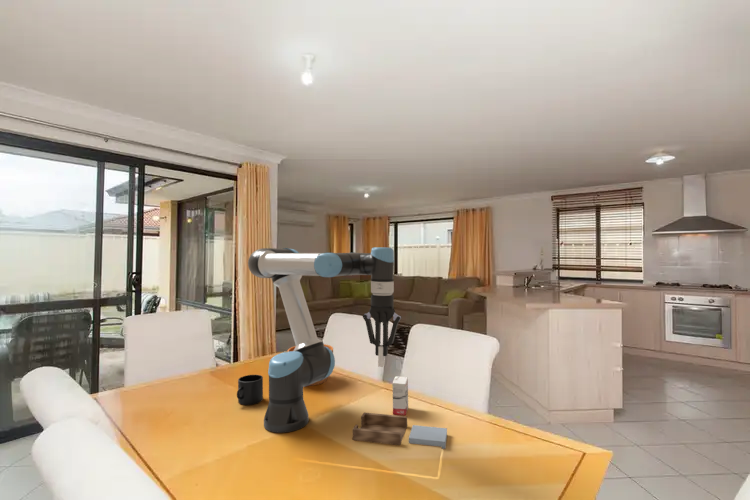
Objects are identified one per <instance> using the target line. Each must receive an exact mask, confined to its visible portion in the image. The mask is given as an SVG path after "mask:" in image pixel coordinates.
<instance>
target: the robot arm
mask: <svg viewBox="0 0 750 500" xmlns="http://www.w3.org/2000/svg"><path fill="white" fill-rule="evenodd" d="M247 260H248V261H247V266H248V270H249V272H250V273H251V274H252V275H253V276H255V277H256V278H261V279H271V280H272V283H273V286H275V287H277V288H278V290H279V293H280V296H281V300H282V303H283V307H284V310H285V314H286V318H287V320H288V321H287V322H288V324H289V327H290V330H291V333H292V337H293V341H294V344H295V346H296V347H295V349H294V351H289V352H286V351H283V352H280V353H278V354H276V355H274V356H273V357H271V358H270V360H269V363H268V370H267V371H268V372H267V373H268V374H267V375H268V405H267V407H266V410H265V415H264V417H263V427H264V429H265V430H266V431H269V432H273V433H279V434H280V433H290V432H295V431H298V430H300V429H303V428H304V427H306V426H307V425H308V423H309V412H308V409H307V406H306V403H305V400H304V388H305V387H308V385H310V384H313V383H315V382H318V381H321V380H323V379H325V378H329V377H330V376H331V375H332V374H333V372H334V369H335V365H336V364H335V363H336V359H335V355H334V351H333V352H332V351H331V350H330V349H329V348H328V347H325V346H324V344H325V343H324V340H322V339H319V338H318V335H317V333H316V329H315V326H314V323H313V320H312V316H311V313H310V310H309V307H308V303H307V300H306V297H305V294H304V290H303V287H302V284H301V279H302V277H303V276H313V277H319V276H320V277H322V278H334V277H342V276H343V277H346V276H370V293H371V295H370V308H369V311H368V312H367V313H364V314H363V315H362V318H363V321H365V325H366V330H367V334H368V340H369V343H370V344H372V345H374V346H375V351H374V352H375V353H374V355H375V356H377V359H378V360H377V365H378V367H379V368H380V367H381V368H383V367H384V366H385V363H386V360H385V357H387V356H388V354H389V353H388V351H389V350H388V349H389V346H392V344H393V343H394V341H395V337H396V333H397V329H398V325H399V322H400V321H401V320H402V316H401V315H398V313H396V311H395V309H394V302H395V301H394V300H395V299H394V298H395V297H394V291H395V287H394V286H395V285H394V283H395V282H394V280H395V279H394V273H395V272H394V271H395V251H394V249H393V248H392V247H383V246H382V247H381V246H380V247H376V246H375V247H371V252H367V253H366V252H355V251H354V252H299V251H298V250H297V249H293V248H290V247H289V248H288V247H282V248H275V247H274V248H270V247H265V248H264V247H263V248H262V247H261V248H259V249H256V250H255V251H253V252H252V253H251V254H250V256H249V257H248V259H247ZM371 318H372V319H373V320H374V326H375V329H374V328H373V323H372V319H371ZM391 319H392V320H393V323H392V327H391V331H390V334H389V322H390V320H391ZM381 325H382V326H381ZM381 327H382V328H381ZM381 329H382V330H381ZM374 330H375V331H374ZM381 331H382V332H381ZM381 333H382V334H381ZM381 335H382V336H381ZM381 337H382V343H381Z"/></svg>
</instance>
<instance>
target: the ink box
mask: <svg viewBox="0 0 750 500" xmlns="http://www.w3.org/2000/svg"><path fill="white" fill-rule="evenodd" d="M408 410H409V379H408V377H407V376H399V375H397V376H396V375H395V377H394V379H393V381H392V415H396V416H406V415H407V412H408Z"/></svg>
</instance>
